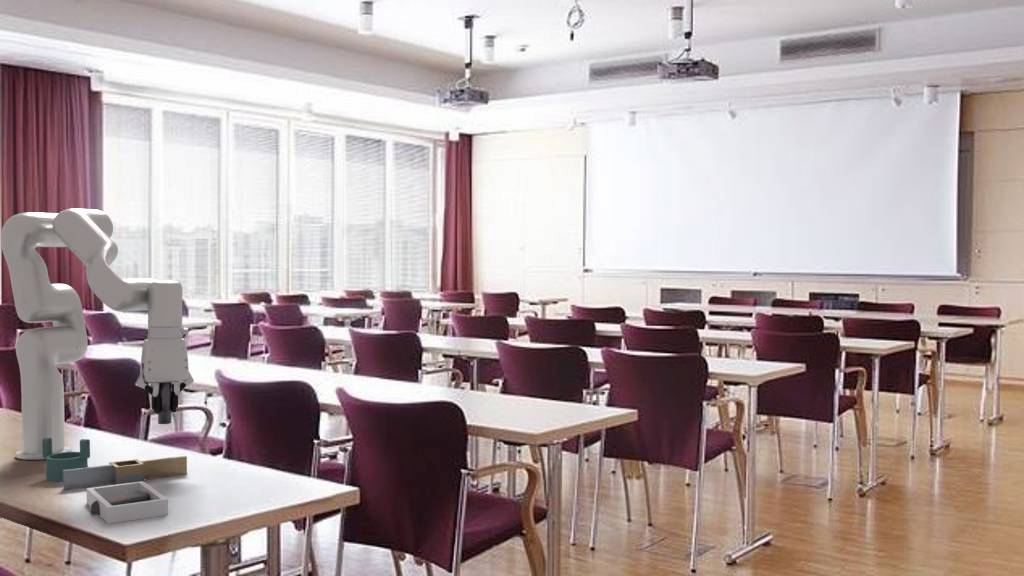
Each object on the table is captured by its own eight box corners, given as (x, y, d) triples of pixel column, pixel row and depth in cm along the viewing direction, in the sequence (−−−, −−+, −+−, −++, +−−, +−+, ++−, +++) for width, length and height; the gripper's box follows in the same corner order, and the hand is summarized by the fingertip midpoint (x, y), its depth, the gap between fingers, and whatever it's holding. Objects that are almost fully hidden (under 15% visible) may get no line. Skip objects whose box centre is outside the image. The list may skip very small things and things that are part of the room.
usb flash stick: (90, 513, 193) (90, 499, 193) (144, 501, 203) (144, 487, 203) (106, 517, 190) (106, 503, 190) (160, 505, 200) (160, 491, 200)
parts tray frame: (86, 503, 201) (86, 488, 201) (142, 495, 207) (142, 481, 207) (108, 523, 186) (107, 507, 186) (167, 514, 192) (167, 499, 192)
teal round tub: (91, 479, 221) (90, 439, 221) (45, 484, 217) (45, 443, 216) (85, 472, 229) (85, 433, 229) (41, 476, 224) (41, 436, 224)
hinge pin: (156, 422, 233) (156, 380, 232) (169, 421, 234) (169, 379, 234) (159, 424, 230) (160, 381, 230) (173, 423, 232) (173, 380, 231)
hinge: (66, 492, 210) (66, 473, 210) (60, 486, 215) (60, 468, 214) (190, 476, 225) (190, 458, 224) (182, 471, 230) (182, 453, 229)
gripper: (195, 331, 239) (194, 407, 240) (124, 333, 230) (124, 412, 230) (205, 333, 233) (204, 411, 234) (132, 336, 223) (132, 417, 224)
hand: (164, 411), depth 232 cm, fingers closed on hinge pin, 3 cm apart
